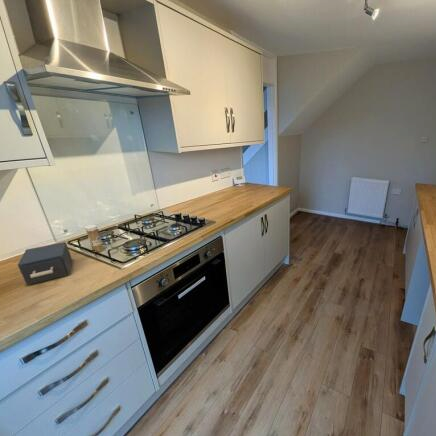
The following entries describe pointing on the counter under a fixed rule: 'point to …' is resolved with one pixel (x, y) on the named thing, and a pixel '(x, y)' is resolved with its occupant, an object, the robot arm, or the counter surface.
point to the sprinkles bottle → (94, 238)
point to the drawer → (43, 270)
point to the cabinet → (47, 256)
